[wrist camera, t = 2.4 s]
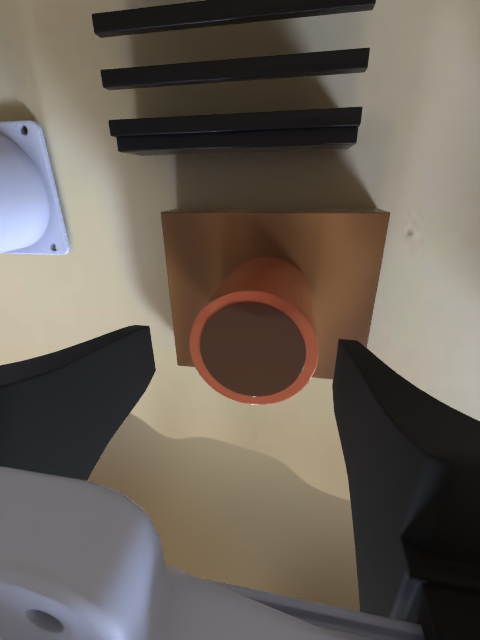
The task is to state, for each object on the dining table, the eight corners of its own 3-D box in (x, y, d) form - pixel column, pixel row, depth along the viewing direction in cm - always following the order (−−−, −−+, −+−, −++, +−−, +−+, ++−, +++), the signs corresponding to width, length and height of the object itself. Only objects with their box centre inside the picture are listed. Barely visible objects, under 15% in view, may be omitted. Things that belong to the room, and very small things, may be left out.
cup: (223, 339, 20) (193, 399, 14) (219, 254, 17) (183, 287, 12) (309, 345, 19) (313, 412, 13) (317, 257, 17) (325, 294, 11)
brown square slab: (189, 348, 23) (177, 365, 21) (176, 208, 19) (160, 212, 17) (354, 361, 21) (360, 382, 19) (378, 208, 17) (390, 212, 15)
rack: (140, 155, 18) (112, 150, 16) (109, -86, 14) (65, -148, 12) (348, 149, 16) (358, 142, 14) (381, -134, 12) (403, -222, 10)
